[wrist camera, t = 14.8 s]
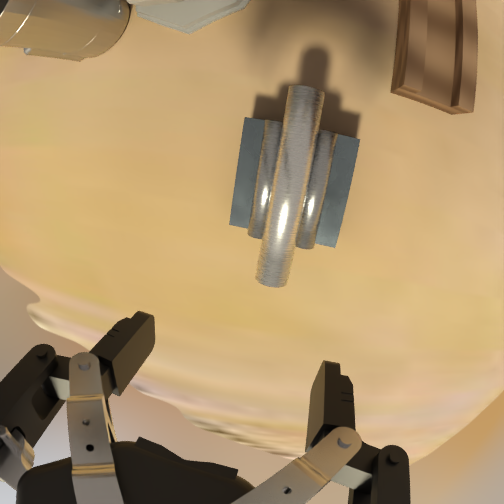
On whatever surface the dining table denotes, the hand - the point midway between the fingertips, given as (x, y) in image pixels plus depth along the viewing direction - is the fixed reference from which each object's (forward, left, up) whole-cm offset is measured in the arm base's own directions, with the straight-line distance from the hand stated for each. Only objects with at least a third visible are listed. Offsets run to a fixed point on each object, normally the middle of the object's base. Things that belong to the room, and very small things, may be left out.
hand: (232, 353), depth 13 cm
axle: (+3, +4, -14) cm, 15 cm away
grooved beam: (+22, +15, -19) cm, 32 cm away
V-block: (+3, +4, -19) cm, 20 cm away
